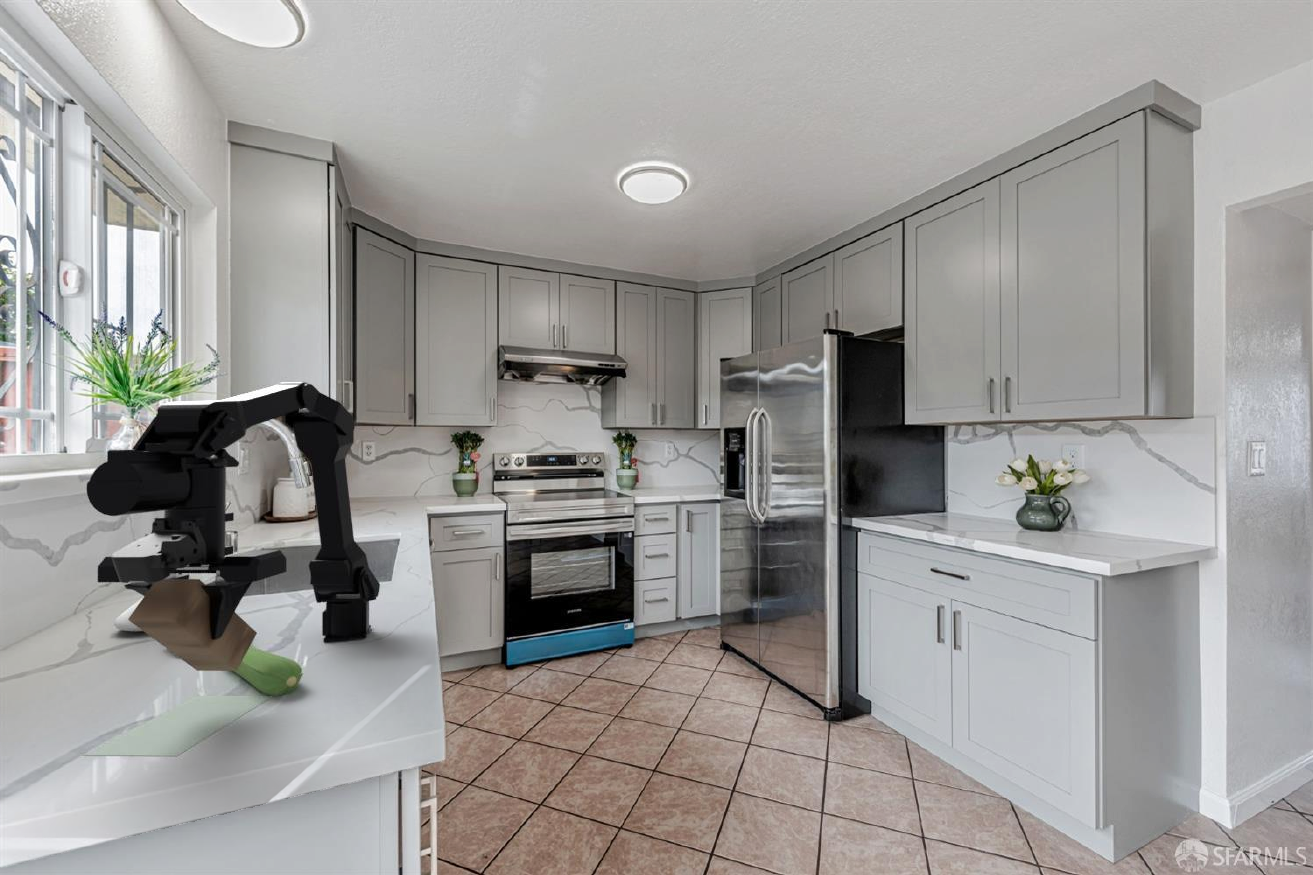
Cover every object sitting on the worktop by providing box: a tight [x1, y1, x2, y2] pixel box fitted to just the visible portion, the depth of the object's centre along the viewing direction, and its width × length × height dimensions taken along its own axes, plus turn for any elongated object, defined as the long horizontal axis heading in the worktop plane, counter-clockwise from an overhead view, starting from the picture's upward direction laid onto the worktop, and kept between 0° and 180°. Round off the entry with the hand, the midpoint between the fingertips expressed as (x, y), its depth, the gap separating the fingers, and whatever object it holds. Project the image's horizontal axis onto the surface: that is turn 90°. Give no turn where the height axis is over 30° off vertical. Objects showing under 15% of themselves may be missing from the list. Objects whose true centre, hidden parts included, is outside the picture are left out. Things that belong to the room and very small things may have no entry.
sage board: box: [83, 695, 274, 757], centre depth 68 cm, size 14×10×1 cm
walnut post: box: [128, 578, 258, 672], centre depth 69 cm, size 5×5×13 cm
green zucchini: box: [232, 645, 304, 697], centre depth 81 cm, size 5×20×5 cm
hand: (194, 638), depth 69 cm, fingers closed on walnut post, 5 cm apart
